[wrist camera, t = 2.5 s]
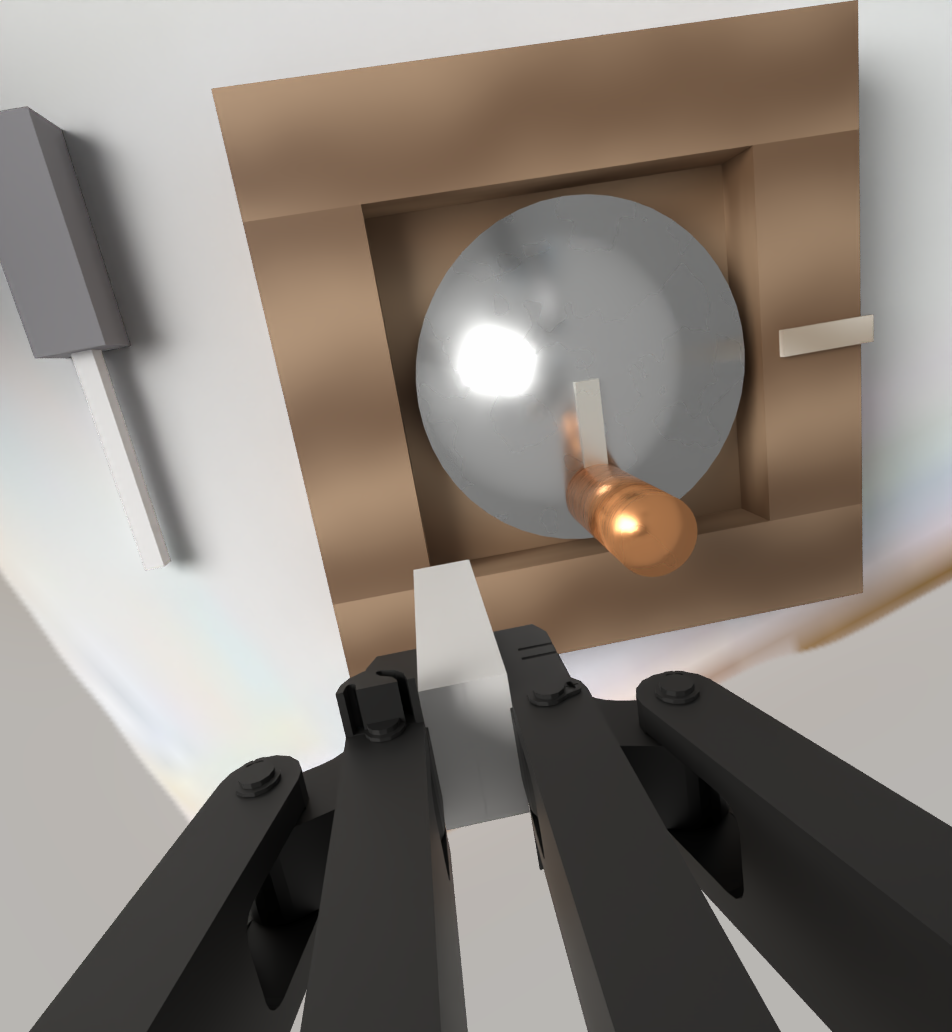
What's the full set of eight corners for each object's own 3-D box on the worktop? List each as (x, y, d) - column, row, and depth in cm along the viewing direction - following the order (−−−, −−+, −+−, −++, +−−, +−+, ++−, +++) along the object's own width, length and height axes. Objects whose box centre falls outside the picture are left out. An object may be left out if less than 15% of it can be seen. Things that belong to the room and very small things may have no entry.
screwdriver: (-7, 142, 24) (-51, 119, 22) (63, 130, 24) (27, 106, 22) (138, 563, 28) (115, 581, 26) (197, 551, 28) (179, 568, 26)
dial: (386, 234, 24) (378, 174, 16) (709, 184, 25) (847, 104, 17) (444, 550, 27) (461, 627, 19) (728, 497, 28) (853, 550, 20)
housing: (243, 134, 25) (208, 85, 20) (792, 56, 26) (872, -6, 22) (361, 648, 30) (353, 698, 26) (808, 561, 32) (874, 594, 27)
